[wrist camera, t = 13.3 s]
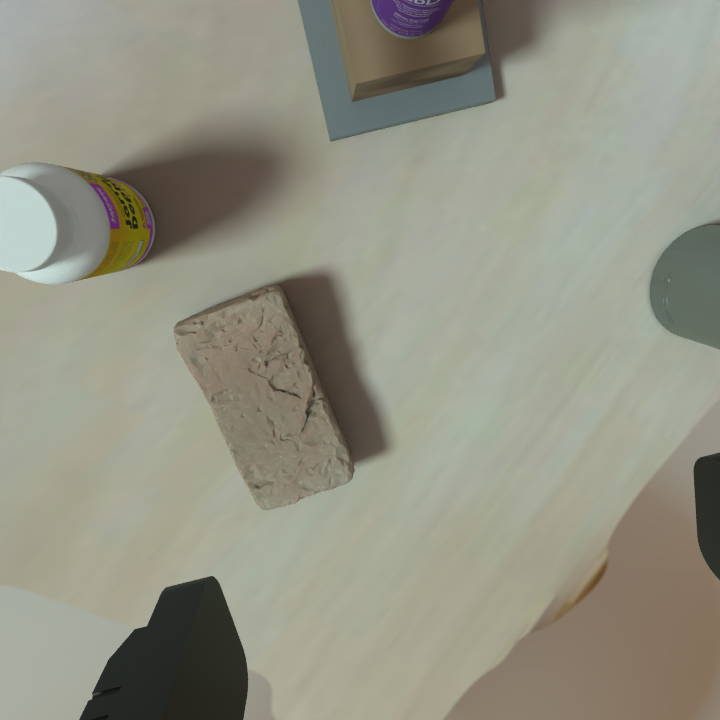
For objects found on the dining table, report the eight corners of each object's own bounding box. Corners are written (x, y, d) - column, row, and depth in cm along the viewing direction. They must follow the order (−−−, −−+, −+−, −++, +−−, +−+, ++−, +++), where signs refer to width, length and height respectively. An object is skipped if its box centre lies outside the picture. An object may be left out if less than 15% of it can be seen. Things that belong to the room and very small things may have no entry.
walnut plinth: (442, -58, 34) (462, -104, 29) (463, 75, 36) (485, 52, 31) (323, -30, 34) (323, -71, 29) (351, 102, 36) (356, 83, 31)
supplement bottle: (177, 231, 38) (108, 236, 26) (112, 288, 39) (15, 320, 27) (109, 156, 37) (1, 123, 24) (43, 217, 37) (-95, 215, 25)
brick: (356, 459, 45) (360, 485, 40) (266, 493, 45) (259, 523, 40) (282, 277, 40) (277, 284, 36) (182, 316, 40) (164, 328, 36)
